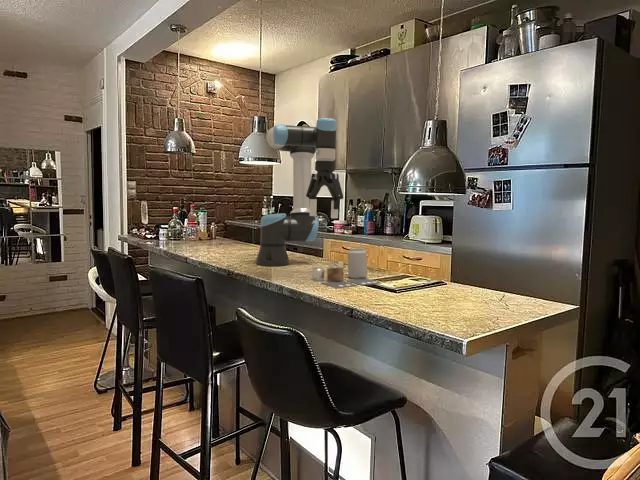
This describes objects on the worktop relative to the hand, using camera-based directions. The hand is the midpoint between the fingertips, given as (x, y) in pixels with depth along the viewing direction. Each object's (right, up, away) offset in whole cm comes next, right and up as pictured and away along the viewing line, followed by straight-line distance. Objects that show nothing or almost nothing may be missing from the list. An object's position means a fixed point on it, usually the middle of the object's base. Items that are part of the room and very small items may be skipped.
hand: (323, 217), depth 180 cm
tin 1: (-2, -25, +2) cm, 25 cm away
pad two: (+6, -26, -6) cm, 27 cm away
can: (+14, -24, +9) cm, 29 cm away
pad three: (+15, -25, +1) cm, 29 cm away
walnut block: (+5, -24, +1) cm, 25 cm away
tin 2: (+5, -24, +7) cm, 26 cm away
